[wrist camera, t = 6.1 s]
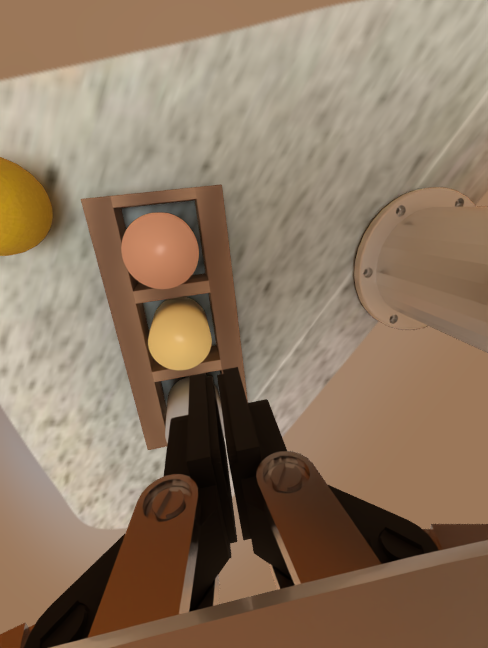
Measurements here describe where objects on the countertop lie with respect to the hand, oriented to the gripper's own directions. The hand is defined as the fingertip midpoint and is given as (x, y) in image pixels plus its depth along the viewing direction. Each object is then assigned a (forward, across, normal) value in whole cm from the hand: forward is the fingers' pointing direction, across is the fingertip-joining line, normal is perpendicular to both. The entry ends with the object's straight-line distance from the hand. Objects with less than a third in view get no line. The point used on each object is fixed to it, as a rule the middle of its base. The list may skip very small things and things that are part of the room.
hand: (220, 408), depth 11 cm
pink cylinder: (+14, +2, -4) cm, 15 cm away
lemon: (+16, +11, -8) cm, 21 cm away
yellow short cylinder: (+16, +3, +2) cm, 16 cm away
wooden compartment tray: (+16, +2, +2) cm, 17 cm away
